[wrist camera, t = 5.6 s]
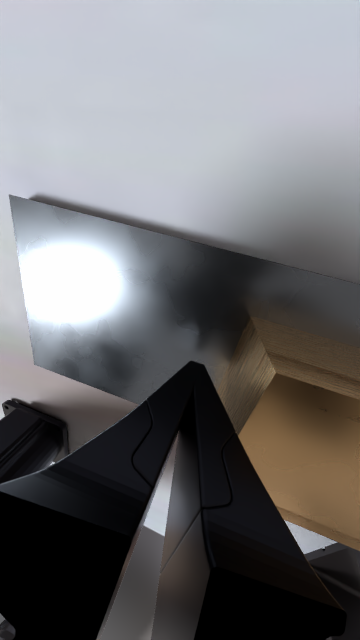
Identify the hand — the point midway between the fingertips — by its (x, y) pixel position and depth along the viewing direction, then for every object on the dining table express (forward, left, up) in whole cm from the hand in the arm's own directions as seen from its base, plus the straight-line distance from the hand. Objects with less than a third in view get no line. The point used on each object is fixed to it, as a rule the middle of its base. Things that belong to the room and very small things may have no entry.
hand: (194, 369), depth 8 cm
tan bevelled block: (0, -5, -1) cm, 5 cm away
